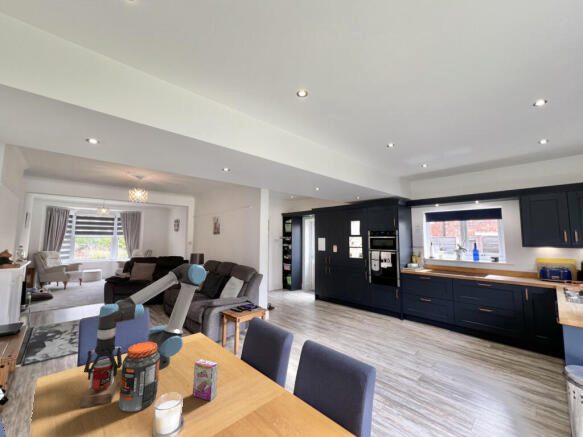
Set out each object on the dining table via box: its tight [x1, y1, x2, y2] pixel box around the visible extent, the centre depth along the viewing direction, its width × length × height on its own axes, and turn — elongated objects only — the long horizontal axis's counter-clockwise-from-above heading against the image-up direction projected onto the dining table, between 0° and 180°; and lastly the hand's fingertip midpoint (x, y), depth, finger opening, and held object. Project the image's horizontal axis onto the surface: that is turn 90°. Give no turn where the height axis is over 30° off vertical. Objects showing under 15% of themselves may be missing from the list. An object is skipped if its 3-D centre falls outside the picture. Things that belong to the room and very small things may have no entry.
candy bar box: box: [192, 358, 219, 402], centre depth 125 cm, size 11×5×16 cm, turn 71°
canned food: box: [92, 358, 113, 390], centre depth 122 cm, size 8×8×11 cm
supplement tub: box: [118, 341, 160, 413], centre depth 120 cm, size 16×16×26 cm
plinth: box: [79, 380, 120, 409], centre depth 121 cm, size 12×12×4 cm
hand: (101, 384), depth 122 cm, fingers closed on canned food, 8 cm apart
